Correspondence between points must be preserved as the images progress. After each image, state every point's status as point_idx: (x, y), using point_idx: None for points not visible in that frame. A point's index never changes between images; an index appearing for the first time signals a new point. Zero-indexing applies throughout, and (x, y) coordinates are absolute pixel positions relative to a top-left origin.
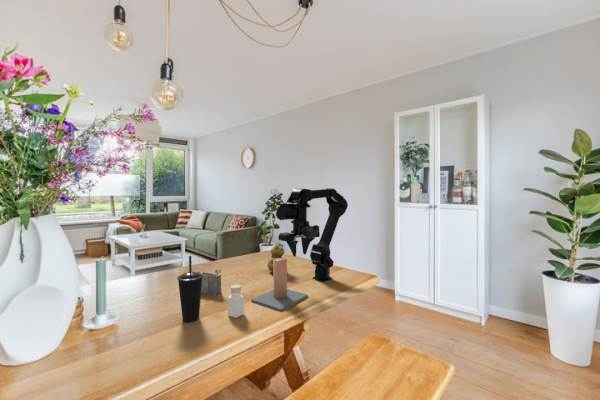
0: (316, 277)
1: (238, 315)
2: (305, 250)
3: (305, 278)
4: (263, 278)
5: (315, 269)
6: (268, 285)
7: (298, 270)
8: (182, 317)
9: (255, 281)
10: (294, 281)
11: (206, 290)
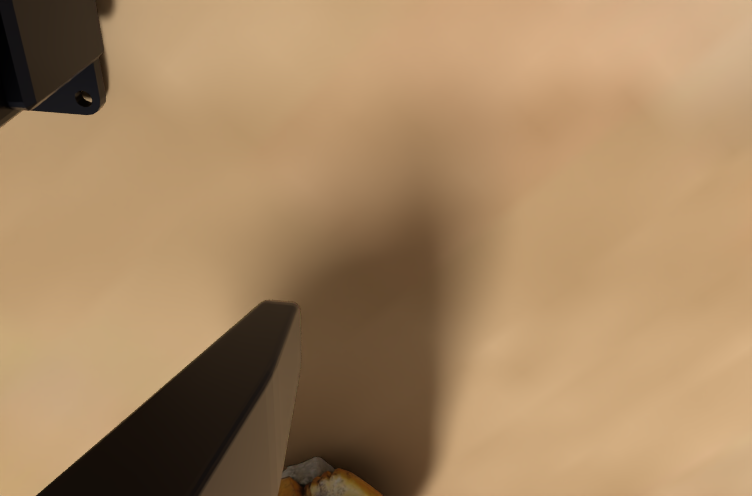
0: (89, 19)
1: None
2: (263, 406)
3: (190, 180)
4: (562, 477)
5: (24, 97)
6: (726, 316)
7: (79, 411)
8: None
9: (693, 472)
10: (391, 201)
11: None
